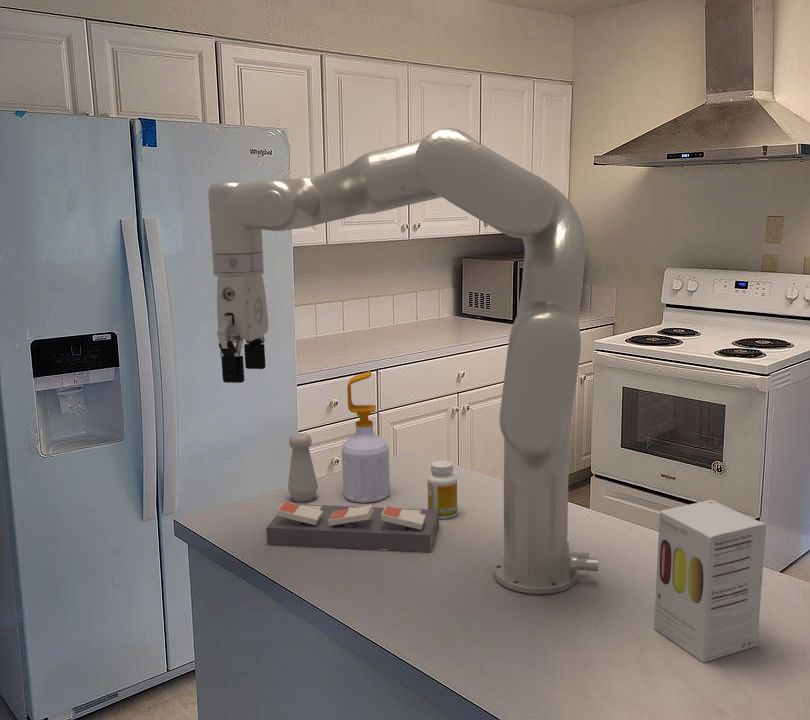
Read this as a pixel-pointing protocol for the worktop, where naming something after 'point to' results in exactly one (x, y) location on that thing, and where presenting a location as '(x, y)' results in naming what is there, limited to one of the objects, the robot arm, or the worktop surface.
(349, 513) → the rocker middle
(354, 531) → the rocker switch panel
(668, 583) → the supplement box
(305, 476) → the salt shaker
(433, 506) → the supplement bottle
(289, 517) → the rocker far
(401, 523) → the rocker near
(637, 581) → the worktop surface
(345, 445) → the soap bottle
